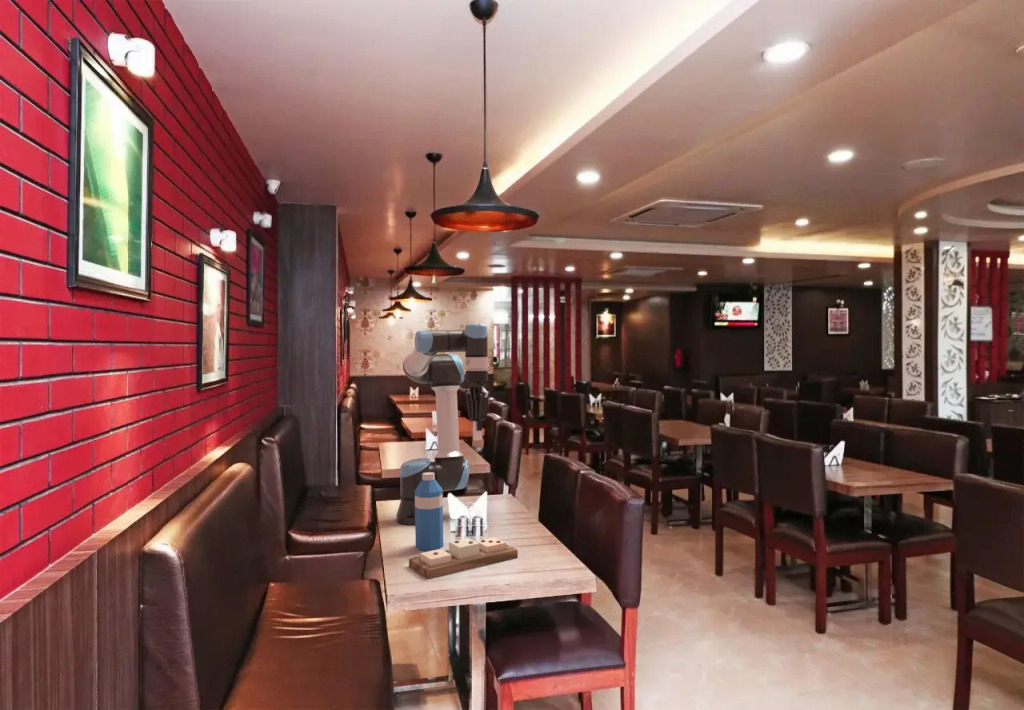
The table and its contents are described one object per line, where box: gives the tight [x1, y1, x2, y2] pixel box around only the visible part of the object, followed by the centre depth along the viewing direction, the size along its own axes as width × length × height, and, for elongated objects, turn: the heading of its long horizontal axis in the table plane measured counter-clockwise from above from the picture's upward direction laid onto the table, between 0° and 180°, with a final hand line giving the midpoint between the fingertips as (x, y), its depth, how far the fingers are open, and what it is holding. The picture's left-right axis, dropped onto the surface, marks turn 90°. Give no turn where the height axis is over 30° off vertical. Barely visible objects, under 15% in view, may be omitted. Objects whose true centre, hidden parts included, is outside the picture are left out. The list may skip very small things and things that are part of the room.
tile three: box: [475, 536, 507, 553], centre depth 212 cm, size 7×7×4 cm
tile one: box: [419, 548, 451, 567], centre depth 201 cm, size 7×7×4 cm
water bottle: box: [414, 472, 444, 552], centre depth 222 cm, size 9×9×25 cm
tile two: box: [448, 537, 479, 560], centre depth 207 cm, size 7×7×4 cm
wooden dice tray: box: [408, 544, 519, 580], centre depth 207 cm, size 13×32×2 cm, turn 124°
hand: (477, 440), depth 219 cm, fingers closed
